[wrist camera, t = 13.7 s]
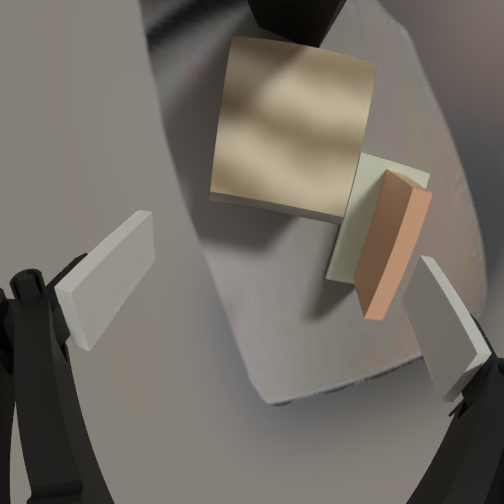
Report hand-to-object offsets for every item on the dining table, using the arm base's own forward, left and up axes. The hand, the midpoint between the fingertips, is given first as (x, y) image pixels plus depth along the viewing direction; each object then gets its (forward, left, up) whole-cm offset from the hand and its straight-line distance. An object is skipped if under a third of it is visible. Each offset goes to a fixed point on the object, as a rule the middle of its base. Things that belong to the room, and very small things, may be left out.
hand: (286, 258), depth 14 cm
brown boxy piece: (-5, -1, -25) cm, 25 cm away
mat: (+6, +13, -25) cm, 29 cm away
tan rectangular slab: (+6, +13, -24) cm, 28 cm away
